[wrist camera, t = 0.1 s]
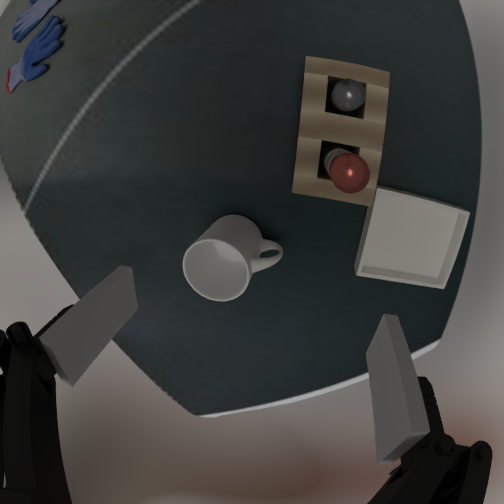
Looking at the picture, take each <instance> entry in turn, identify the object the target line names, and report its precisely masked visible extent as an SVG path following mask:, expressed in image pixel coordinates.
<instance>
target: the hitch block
mask: <svg viewBox="0 0 504 504" xmlns="http://www.w3.org/2000/svg"><path fill="white" fill-rule="evenodd" d="M389 76H390V72H386V71H382V70H378V69H375V68H370V67H366V66H362V65H357V64H352V63H347V62H342V61H337V60H331V59H324V58H317V57H310V56H306V61H305V73H304V85H303V96H302V106H301V116H300V126H299V135H298V145H297V153H296V162H295V171H294V179H293V187H292V193H297V194H304V195H310V196H316V197H322V198H328V199H334V200H339V201H345V202H350V203H355V204H361V205H366V206H371V207H372V205H373V200H374V195H375V190H376V185H377V179H378V173H379V168H380V161H381V155H382V148H383V141H384V133H385V124H386V115H387V105H388V92H389ZM342 79H353V80H356V81H358V82H359V83H360V84H361V85H362V86H363V88H364V90H365V93H366V98H365V101H364V103H363V104H362V105H361V106H360V107H358V108H357V110H356V118H354V117H349V116H344V115H339V114H333V113H327V112H325V105H326V94H327V85H330V86H335V85H336V84H337V83H338V82H339V81H340V80H342ZM322 140H324V141H330V142H335V143H341V144H346V145H351V146H352V152H351V153H353V154H356V155H358V156H360V157H362V158H363V159H364V160H365V161H366V163H367V164H368V166H369V169H370V179H369V182H368V184H367V186H366V187H365V188H364V189H363V190H361V191H360V192H358V193H353V194H349V193H344V192H342V191H340V190H339V189H338V188H337V187H336V186H335V185H334V183H333V182H332V180H331V178H330V176H329V174H326V173H320V172H318V165H319V158H320V150H321V142H322Z"/></svg>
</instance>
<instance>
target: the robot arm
mask: <svg viewBox="0 0 504 504" xmlns="http://www.w3.org/2000/svg"><path fill="white" fill-rule="evenodd" d="M137 309H138V305H137V299H136V293H135V287H134V280H133V273H132V268H131V267H126V266H122V265H121V266H119V267H118V268H117V269H116V270H114V271H113V272H112V273H111V274H110V275H108V276H107V277H106V278H105V279H104V280H102V281H101V282H100V283H99V284H98V285H96V286H95V287H94V288H93V289H92V290H91V291H89V292H88V293H87V294H86V295H85V296H84V297H83V298H81V299H80V300H79V301H78V302H77V303H76V304H75V305H70V306H68V307H66V308H64V309H63V310H62V311H60V312H59V313H58V314H57V316H55V317H54V318H53V319H52V321H49V322H48V323H47V324H46V325H45V326H44V327H43V328H42V329H41V330H40V331H39V332H38V333H37V334H36V335H34V336H32V334H31V332H30V329H29V327H28V325H27V324H26V323H25V322H16V323H14V324H12V325H10V326H9V327H8V328H7V330H6V334H5V332H4V331H2V330H0V367H1V369H2V371H3V373H2V375H0V504H72V501H71V498H70V493H69V490H68V485H67V481H66V476H65V471H64V466H63V461H62V455H61V449H60V441H59V433H58V422H57V408H56V382H55V377H54V375H55V374H56V373H57V374H58V375H59V377H60V379H61V380H62V381H63V382H65V383H66V384H68V385H70V386H71V387H73V386H74V384H75V383H76V382H77V380H78V379H79V378H80V377H81V376H82V374H83V373H84V372H85V370H86V369H87V368H88V367H89V366H90V364H91V363H92V362H93V361H94V360H95V358H96V357H97V356H98V355H99V354H100V352H101V351H102V350H103V349H104V348H105V346H106V345H107V344H108V343H109V342H110V340H111V339H112V338H113V337H114V336H115V335H116V333H117V332H118V331H119V330H120V329H121V328H122V326H123V325H124V324H125V323H126V322H127V321H128V320H129V318H130V317H131V316H132V315H133V314H134V313H135V312H136V310H137ZM6 335H7V336H6ZM7 337H8V338H7ZM366 358H367V365H368V372H369V379H370V387H371V395H372V404H373V414H374V425H375V438H376V439H375V440H376V458H377V459H376V460H377V464H389V463H394V462H395V461H397V460H398V459H399V458H401V465H399V466H398V467H397V468H395V469H394V470H393V471H391V472H390V473H389V474H390V475H391V474H392V475H391V477H390V478H389V479H388V480H387V482H386V483H385V484H384V485H383V486H382V488H381V489H380V490H379V491H378V492H377V494H376V495H375V496H374V497H373V498H372V499H371V500H370V501H369V502H368V504H483V501H484V498H485V494H486V489H487V484H488V480H489V474H490V468H491V462H492V449H491V447H490V445H489V444H488V443H487V442H485V441H478V442H476V443H474V444H473V445H472V446H471V447H468V446H462V445H457V444H456V443H455V442H454V439H453V438H452V437H451V436H449V435H447V434H445V433H444V429H443V425H442V421H441V417H440V413H439V409H438V405H437V404H436V403H437V401H436V398H435V397H434V395H435V394H434V391H433V388H432V385H431V383H430V382H429V381H428V379H427V378H426V377H417V375H416V372H415V368H414V365H413V361H412V358H411V355H410V352H409V348H408V345H407V342H406V339H405V336H404V333H403V331H402V328H401V325H400V322H399V319H398V317H397V316H396V315H388V314H384V315H383V317H382V319H381V322H380V324H379V326H378V329H377V331H376V333H375V335H374V337H373V340H372V342H371V344H370V346H369V348H368V350H367V352H366ZM4 472H5V477H6V487H5V488H3V484H4Z"/></svg>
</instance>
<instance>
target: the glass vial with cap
mask: <svg viewBox="0 0 504 504" xmlns="http://www.w3.org/2000/svg"><path fill="white" fill-rule="evenodd" d="M322 162H323V164H324V166H325V168H326V170H327V172H328V174H329V176H330V178H331V180H332V182H333V183H334V185H335V186H336V187H337V188H338V189H339V190H340V191H342V192H344V193H349V194H353V193H358V192H360V191H361V190H363V189H364V188H365V187H366V186H367V184H368V182H369V179H370V169H369V166H368V164H367V163H366V161H365V160H364V159H363V158H362V157H360V156H358V155H356V154H353V153H351V152H349V151H346V150H344V149H341V148H339V147H335V146H332V147H328V148H327V149H325V150H324V152H323V154H322Z"/></svg>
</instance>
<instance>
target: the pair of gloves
mask: <svg viewBox="0 0 504 504" xmlns="http://www.w3.org/2000/svg"><path fill="white" fill-rule="evenodd" d="M58 1H59V0H30V3H32V4H33V3H34V4H33V5H32V6H31V7H30V8H29V9H27V10H25V11H24V12H23V13H22V14H21V15H20V16H19V18H18V19H17V22H16V24H15V26H14V28H13V31H12V33H13V40H16V42H17V43H20V42H21V41H22V40H23V39H24V37H25V36H26V35H27V34H28V33H29V32H30V31H32V30H33V29H34V28H35V27H36V26H37V25H38V24H39V22H40V21H41V20H42V19H43V18H44V17H45V15H46V14H47V13H48V11H49V9H50V8H52V7H53V6H55V5H56V3H57V2H58ZM60 22H61V18H60V17H55V16H54V15H51V16H50V17H49V18H48V19H47V21H46V23H45V24H44V26H43V27H42V28H41V30H40V31H39V32H38V33H37V34H36V35H35V36H34V37H33V39H32V40H31V42H30V43H29V45H28V46H27V48H26V49H25V51H24V53H23V55H22V58H21V60H20V61H19V62H18V63H17V64H16V65H14V66H12V67H11V68H9V70H8V74H7V83H6V88H7V90H8V92H9V93H11V92H12V91H13V89H14V88H15V87H16V86H17V85H18V84H19V83H20V82H21V81H22V80H24V81H29V80H33V79H35V78H37V77H39V76H41V75H42V74H43V73H44V72H45V71H46V70H47V68H48V67H47V65H46V64H41V65H38V66H33V65H34V64H36V63H38V62H39V61H41V60H44V59H46V58H48V57H49V56H51V55H52V54H53V53H54V52H55V51H56V50H57V49H58V48H59V47H60V44H61V42H60V41H59V38H60V36H61V35H62V33H63V25H61V24H60Z"/></svg>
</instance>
